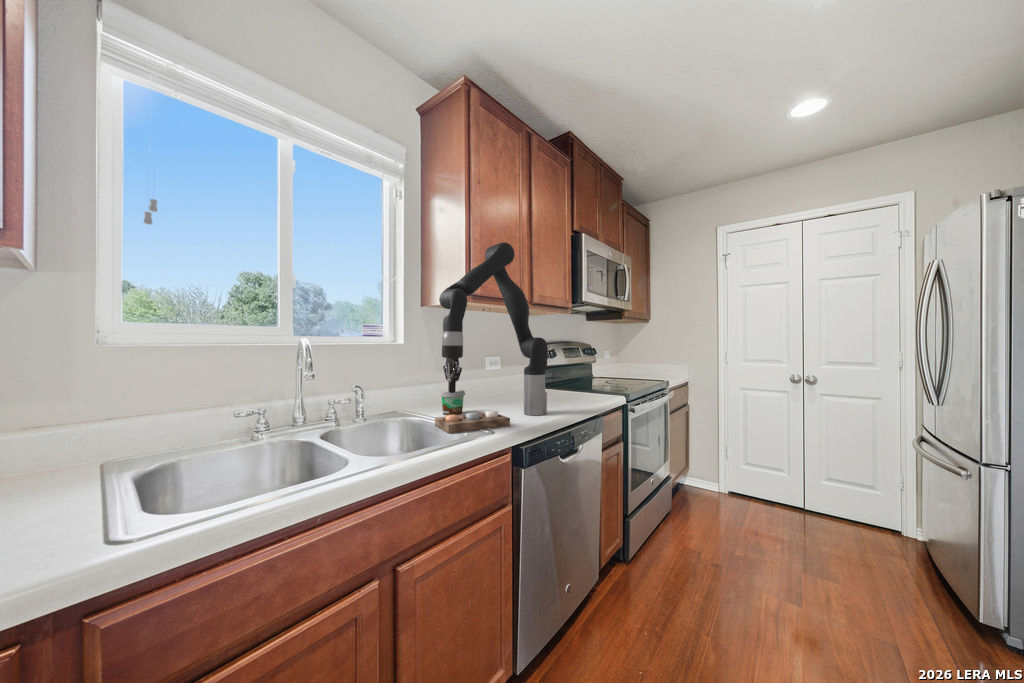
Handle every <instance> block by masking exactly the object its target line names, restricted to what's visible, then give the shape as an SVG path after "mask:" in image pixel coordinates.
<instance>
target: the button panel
mask: <svg viewBox="0 0 1024 683" xmlns="http://www.w3.org/2000/svg"><path fill="white" fill-rule="evenodd" d="M478 413H479V419H474V420H467V419H466V414H459V421H455V422H446V421H445V416H439V417H434V426H435V427H437V428H438V429H440V430H442V431H443V432H445V433H446V434H455V433H457V434H458V433H466V432H473V431H479V430H480V429H483V430H489V429H488V428H491V429H497V428H498V429H499V428H506V427H511V426H510V425H511V418H510V417H508V416H505V415H504V414H503V415H502V414H499V413H498V417H493V418H487V417H485V412H478ZM480 431H481V430H480Z"/></svg>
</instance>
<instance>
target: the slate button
mask: <svg viewBox="0 0 1024 683" xmlns="http://www.w3.org/2000/svg"><path fill="white" fill-rule="evenodd" d="M479 413H480V412H467V413H465V415H466V419H467V420H474V419H479Z"/></svg>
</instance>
